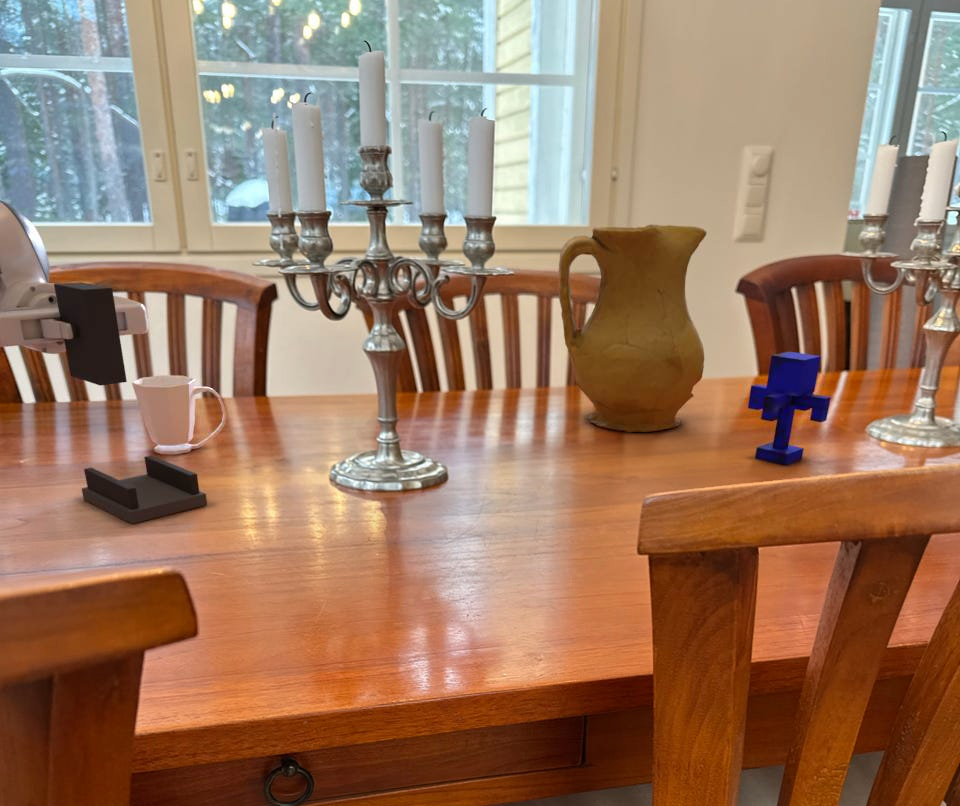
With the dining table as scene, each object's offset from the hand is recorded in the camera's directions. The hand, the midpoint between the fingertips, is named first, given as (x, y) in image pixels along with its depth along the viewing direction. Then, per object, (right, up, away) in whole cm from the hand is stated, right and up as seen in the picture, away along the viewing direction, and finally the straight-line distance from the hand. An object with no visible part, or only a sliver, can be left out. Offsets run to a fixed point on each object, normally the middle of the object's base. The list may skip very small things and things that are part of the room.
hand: (93, 329), depth 109 cm
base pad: (+14, -24, -20) cm, 34 cm away
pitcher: (+68, -8, +15) cm, 70 cm away
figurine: (+83, -16, -2) cm, 85 cm away
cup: (+12, -15, -2) cm, 20 cm away
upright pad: (-1, -5, +3) cm, 6 cm away
